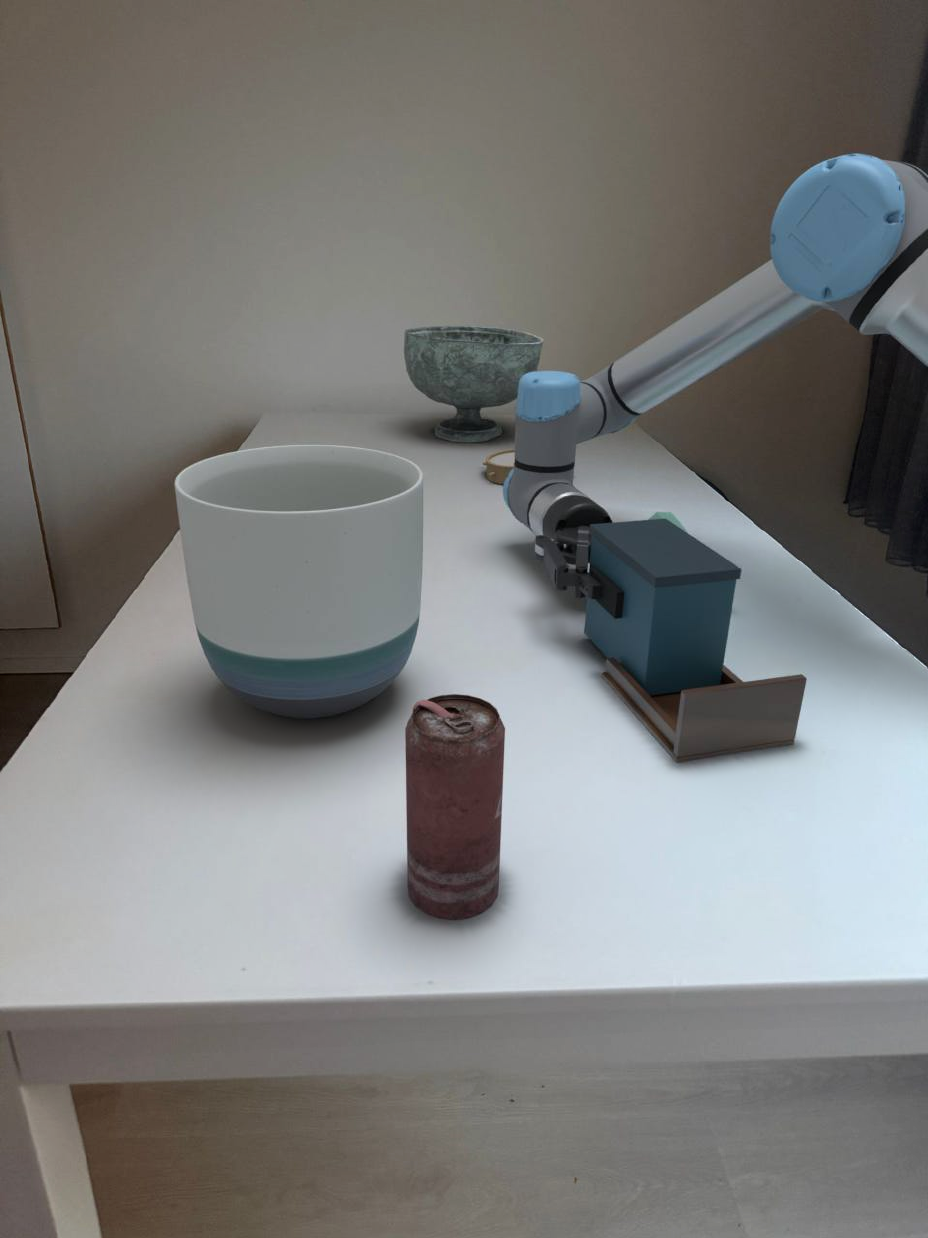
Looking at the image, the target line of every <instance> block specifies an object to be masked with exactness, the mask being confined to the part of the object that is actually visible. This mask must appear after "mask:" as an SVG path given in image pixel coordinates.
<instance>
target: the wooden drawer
mask: <svg viewBox="0 0 928 1238" xmlns="http://www.w3.org/2000/svg"><path fill="white" fill-rule="evenodd" d="M600 674H601V675H600V677H601V678H602V680H603V681H604V682H605V683H606V684H607V685H608V687H609V688H610V689H611V690H612V691H613V692H614V693H615V694H616V695H617V697H618V698H619V699H620V700H621V701H622V702H623V703H624V705H625V706H626V707H627V708H628V709H629V710H630V712H631V713H632V714H633V715H634V716H635V718H637V720H638V721H639V722H640V723H641V724H642V725H643V727H644V728H645V729H646V730H647V731H648V732H649V733H650V734H651V736H652V737H653V738H654V739H655V740H656V741H657V742H658V744H659V745H660V746H661V747H662V748H663V749H664V750H665V752H666V753H667V754H668V755H669V757H671V758H672V759H673V761H674V762H675V763H676V764H677V763H685V762H691V761H697V760H704V759H710V758H716V757H722V756H723V757H724V756H729V755H736V754H742V753H747V752H755V751H762V750H767V749H774V748H780V747H787V746H793V745H795V739H796V735H797V731H798V725H799V720H800V715H801V710H802V705H803V701H804V695H805V690H806V685H807V680H808V677H806V676H805V675H803V674H801V673H800V674H792V675H784V676H777V677H770V678H763V679H755V680H748V681H743V680H742V679H741V678H739V677H738V676H737V674H735V673H734V672H733V671H731V670H730V669H729V668H728V667H727V666H726V665H724V664H723V670H722V676H721V683H720V685H718V686H710V687H703V688H695V689H688V690H682V691H681V692H674V693H667V694H660V695H652V696H650V695H649V694H648V693H647V692H646V691H645V690H644V689H643V688H642V687H641V686H640V685H639V684H638V682H637V681H636V680H635V679H634V678H633V677H632V676H631V675H630V674H629V673H628V672H627V671H626V670H625V669H624V668H623V667H622V665H621V664H620V663H619V662H618V661H617V660H616V659H615V658H614V657H612V658H607V657H606V659H605V671H602V672H601V673H600Z"/></svg>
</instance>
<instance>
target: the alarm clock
mask: <svg viewBox="0 0 928 1238" xmlns="http://www.w3.org/2000/svg"><path fill="white" fill-rule="evenodd" d="M514 462H515V448H512V449H510V448H509V449H504V450H500V451H495V452H493V453H490V454H489V455H487V456H486V457H485V461H483V462H482V465H483V466H486V479H487V480H489V481H490V482H492V483H495V484H500V485H504V482H505V480H506V478H507V476H508V475H509V473H510V471H511V470H512V469H513V468H514Z"/></svg>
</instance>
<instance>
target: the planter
mask: <svg viewBox="0 0 928 1238" xmlns="http://www.w3.org/2000/svg"><path fill="white" fill-rule="evenodd" d="M174 491H175V492H174V493H175V500H176V508H177V515H178V516H177V517H178V523H179V531H180V538H181V539H180V541H181V547H182V553H183V561H184V567H185V575H186V581H187V587H188V593H189V598H190V604H191V609H192V615H193V622H194V625H195V629H196V633H197V637H198V640H199V643H200V646H201V649H202V651H203V654H204V656H205V658H206V659H207V662H208V665H209V667H210V668H211V670H212V671H213V673H214V674H215V676H216V677H217V679H218V680H219V681H220V682H221V683H222V684H223V685H224V687H225V688H226V689H228V690H229V691H230V692H231V693H233V694H234V695H235V696H237V697H238V698H239V699H240V700H242V701H244V702H245V703H247V704H249V705H250V706H253V707H255V708H258V709H260V710H262V711H265V712H267V713H270V714H273V715H277V716H279V717H286V718H292V719H321V718H328V717H332V716H337V715H341V714H344V713H347V712H350V711H352V710H354V709H357V708H359V707H362V706H363V705H365V704H366V703H368V702H370V701H371V700H372V699H374V698H376V697H377V696H378V695H380V694H381V693H382V692H384V691H385V690H386V689H387V688H388V687H389V686H390V685H392V683H393V682H394V681H395V680H396V679H397V678H398V677H399V675H400V674H401V672H402V671H403V669H404V668H405V666H406V665H407V662H408V660H409V658H410V656H411V654H412V651H413V647H414V644H415V641H416V637H417V634H418V630H419V626H420V625H419V624H420V614H421V606H422V605H421V603H422V587H423V586H422V585H423V567H424V566H423V563H424V562H423V560H424V473H423V471H422V469H421V468H420V467H419V465H417V464H416V463H414V462H413V461H411V460H409V459H407V458H404V457H402V456H400V455H396V454H393V453H390V452H387V451H386V452H385V451H382V450H378V449H377V450H376V449H371V448H364V447H358V446H357V447H356V446H349V445H331V444H289V445H288V444H287V445H275V446H264V447H256V448H248V449H243V450H236V451H231V452H226V453H222V454H219V455H215V456H212V457H208V458H205V459H201V460H200V461H197V462H195V463H192V464H191V465H189V466H187V467H186V468H184V469H183V470H181V472H179V473H178V475H177V476H176V477H175V480H174Z"/></svg>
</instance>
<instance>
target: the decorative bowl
mask: <svg viewBox="0 0 928 1238" xmlns="http://www.w3.org/2000/svg"><path fill="white" fill-rule="evenodd" d="M403 333H404V335H403V337H404V344H403V356H404V357H403V358H404V363H405V368H406V373H407V376H408V377H409V379H410V381H411V383H412V385H413V386H414V388H416V389H417V390H418V391H419V392H421V393H422V394H423V395H425V396H426V397H427V398H428V399H430V400H432V401H434V402H436V403H440V404H445V405H448V406H453V407H454V408H455V409H456V414H455V416H453V418H449V419H445V420H443V421H441V422H440V423H439V424H437V425H436V426H435V428H434V435H435V436H436V437H437V438H439V439H442V440H446V441H450V442H458V443H480V442H482V443H483V442H487V441H489V440H492V439H495V438H497V437H499V436H501V435H502V427H501V426H500V424H499V423H498V422H497V421H496V420H494V419H491V418H483V417H482V416H481V410H482V409H485V408H494V407H501V406H504V405H508V404H510V403H512V402H513V401H515V400H517V396H518V386H519V381H520V379H521V377H522V376H523V375H525V374H527V373H529V372H535V371H538V368H539V365H540V360H541V354H542V348H543V344H544V338H542V337H540V336H538V335H535V334H533V333H530V332H526V331H519V330H514V329H509V328H501V327H489V326H472V325H436V326H435V325H433V326H431V325H430V326H419V327H410V328H406V329H405V330H404V332H403Z"/></svg>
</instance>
